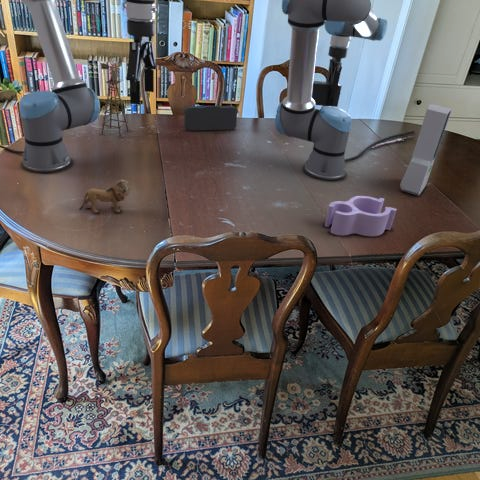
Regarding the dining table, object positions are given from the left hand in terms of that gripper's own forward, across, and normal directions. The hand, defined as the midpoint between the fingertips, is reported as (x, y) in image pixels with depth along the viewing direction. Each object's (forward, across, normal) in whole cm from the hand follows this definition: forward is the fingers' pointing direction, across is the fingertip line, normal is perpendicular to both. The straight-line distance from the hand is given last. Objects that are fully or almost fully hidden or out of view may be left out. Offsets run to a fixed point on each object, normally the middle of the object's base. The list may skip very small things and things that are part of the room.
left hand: (142, 97), depth 139 cm
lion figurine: (+28, -20, +5) cm, 35 cm away
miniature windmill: (+28, +40, +24) cm, 55 cm away
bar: (+15, +70, -53) cm, 89 cm away
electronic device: (+28, +25, -93) cm, 100 cm away
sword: (+28, +71, -93) cm, 120 cm away
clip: (+28, -9, -69) cm, 75 cm away
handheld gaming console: (+28, +58, -12) cm, 66 cm away
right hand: (+14, +71, -61) cm, 94 cm away
